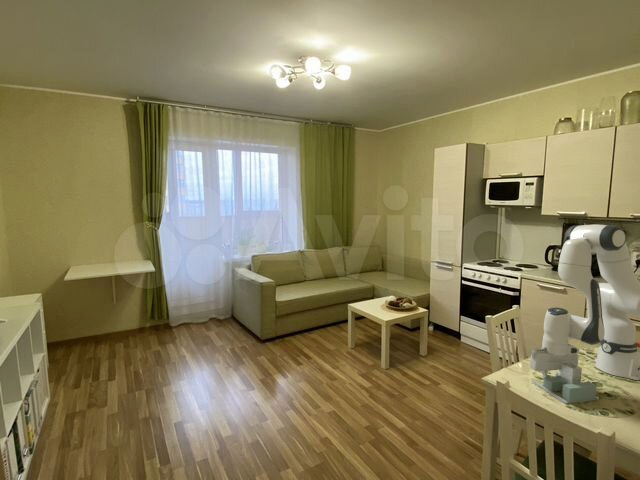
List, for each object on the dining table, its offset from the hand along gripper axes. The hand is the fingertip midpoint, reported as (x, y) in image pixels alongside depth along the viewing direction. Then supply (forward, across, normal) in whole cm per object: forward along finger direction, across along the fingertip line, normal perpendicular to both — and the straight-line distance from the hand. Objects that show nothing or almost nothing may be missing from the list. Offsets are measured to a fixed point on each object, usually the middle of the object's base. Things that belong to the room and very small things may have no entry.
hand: (552, 378), depth 143 cm
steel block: (+3, +1, -7) cm, 8 cm away
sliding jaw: (+2, +1, -3) cm, 4 cm away
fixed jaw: (+2, +1, -5) cm, 6 cm away
